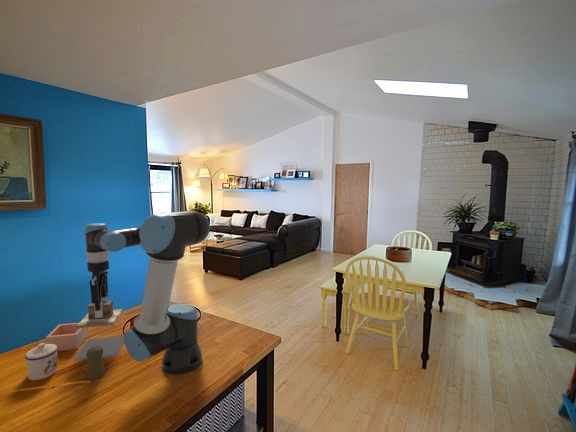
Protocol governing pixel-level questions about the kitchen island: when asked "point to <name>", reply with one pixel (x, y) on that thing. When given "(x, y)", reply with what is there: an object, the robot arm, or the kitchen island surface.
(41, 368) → the white lidded canister
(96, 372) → the olive green rounded column
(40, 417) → the kitchen island surface
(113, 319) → the lid
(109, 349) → the mat
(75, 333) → the pink open box
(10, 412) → the kitchen island surface
